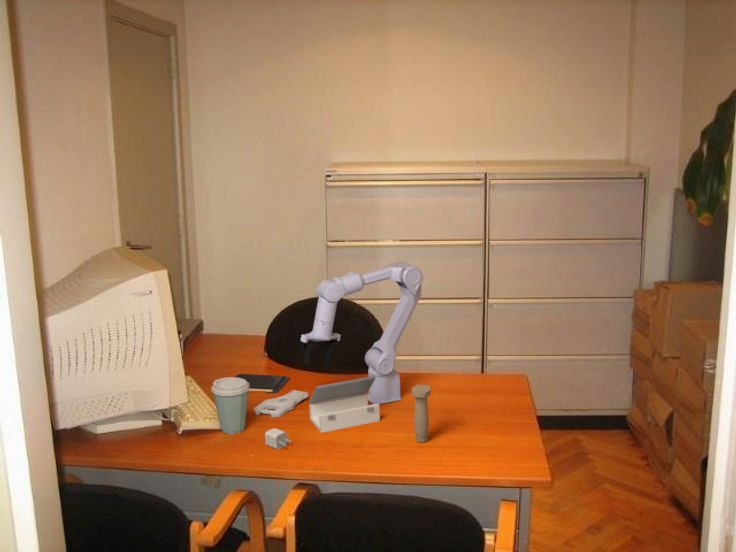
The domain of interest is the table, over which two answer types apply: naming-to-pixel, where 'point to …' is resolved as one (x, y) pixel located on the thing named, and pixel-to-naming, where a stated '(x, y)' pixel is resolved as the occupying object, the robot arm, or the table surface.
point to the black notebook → (264, 382)
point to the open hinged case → (343, 413)
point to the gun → (280, 403)
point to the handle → (421, 412)
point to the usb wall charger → (276, 438)
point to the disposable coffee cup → (231, 403)
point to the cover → (341, 389)
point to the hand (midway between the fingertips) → (316, 364)
